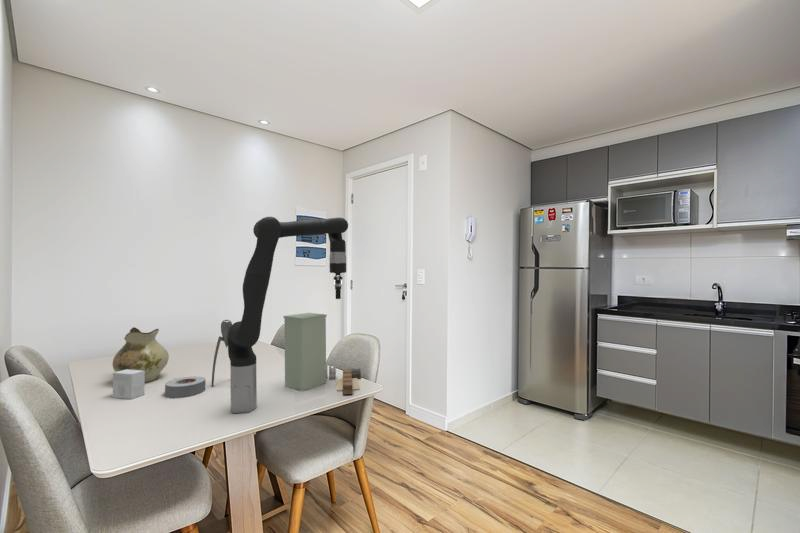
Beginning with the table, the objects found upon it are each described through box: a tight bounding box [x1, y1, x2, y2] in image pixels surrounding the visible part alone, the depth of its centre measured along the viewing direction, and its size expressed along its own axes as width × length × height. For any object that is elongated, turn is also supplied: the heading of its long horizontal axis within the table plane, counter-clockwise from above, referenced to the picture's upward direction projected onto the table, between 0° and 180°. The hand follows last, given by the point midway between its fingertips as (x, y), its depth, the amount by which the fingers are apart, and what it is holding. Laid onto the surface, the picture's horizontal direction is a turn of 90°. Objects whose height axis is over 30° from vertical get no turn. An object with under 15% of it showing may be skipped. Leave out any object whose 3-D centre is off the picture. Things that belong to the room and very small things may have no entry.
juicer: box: [211, 319, 233, 388], centre depth 174 cm, size 10×11×30 cm
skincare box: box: [112, 369, 146, 400], centre depth 160 cm, size 10×6×10 cm, turn 74°
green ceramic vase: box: [112, 327, 170, 383], centre depth 183 cm, size 22×24×25 cm
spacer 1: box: [326, 364, 329, 380], centre depth 184 cm, size 3×3×6 cm
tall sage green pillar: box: [283, 312, 328, 392], centre depth 174 cm, size 13×15×32 cm
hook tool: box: [342, 368, 362, 395], centre depth 172 cm, size 26×8×4 cm, turn 9°
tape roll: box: [164, 375, 206, 399], centre depth 165 cm, size 15×15×5 cm
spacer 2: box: [328, 365, 337, 381], centre depth 183 cm, size 3×3×6 cm
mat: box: [335, 378, 360, 392], centre depth 173 cm, size 16×10×1 cm, turn 9°
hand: (338, 298), depth 170 cm, fingers open, 8 cm apart
